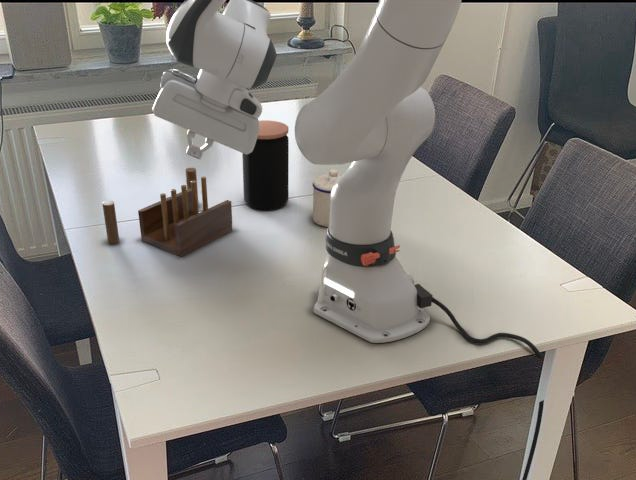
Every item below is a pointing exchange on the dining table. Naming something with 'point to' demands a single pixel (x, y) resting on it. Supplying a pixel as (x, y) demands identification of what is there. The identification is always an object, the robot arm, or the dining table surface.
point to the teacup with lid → (323, 197)
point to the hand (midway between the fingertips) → (193, 156)
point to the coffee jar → (267, 168)
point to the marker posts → (111, 214)
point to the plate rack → (184, 221)
